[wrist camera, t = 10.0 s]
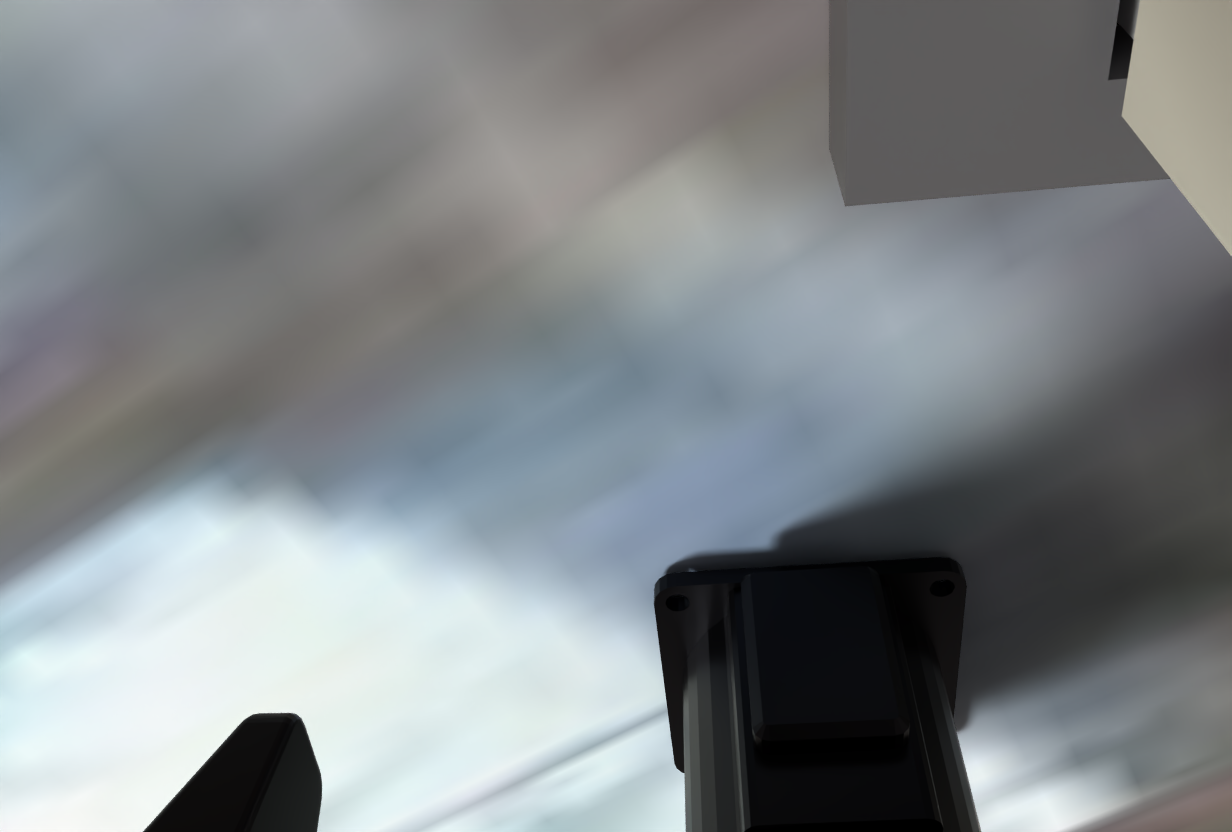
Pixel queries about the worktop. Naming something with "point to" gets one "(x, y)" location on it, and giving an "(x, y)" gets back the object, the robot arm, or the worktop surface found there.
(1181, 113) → the block
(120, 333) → the worktop surface
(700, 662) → the robot arm
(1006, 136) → the block
